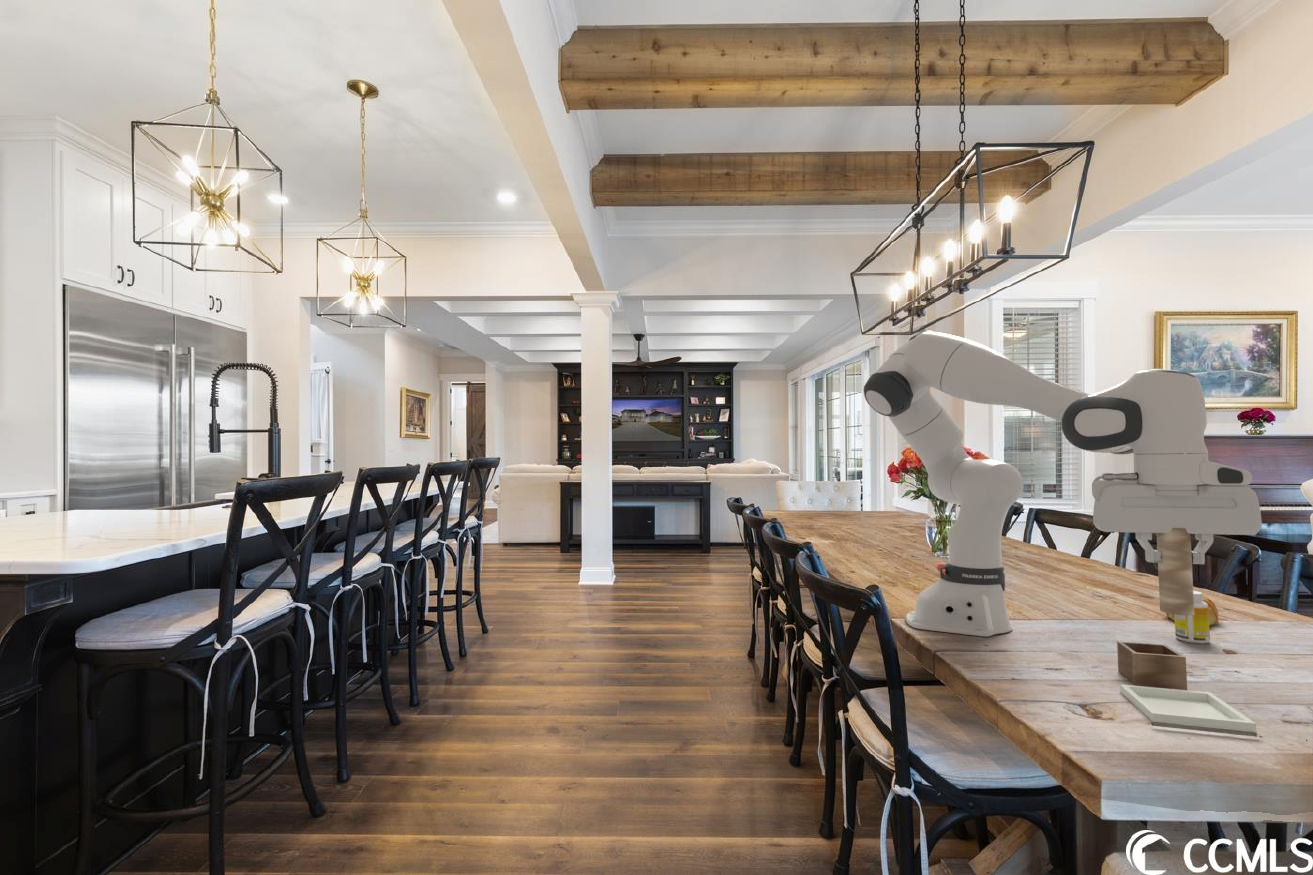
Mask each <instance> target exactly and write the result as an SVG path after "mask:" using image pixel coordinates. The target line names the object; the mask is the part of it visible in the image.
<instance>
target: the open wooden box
mask: <svg viewBox="0 0 1313 875" xmlns="http://www.w3.org/2000/svg"><path fill="white" fill-rule="evenodd" d="M1116 648H1117V649H1116V650H1117V651H1116V652H1117V669H1118V670H1117V671H1118V672H1117V673H1119V674H1120V675H1121V676H1123V677H1124V678H1125V679H1126V680H1128V681H1129V682H1130V683H1131V684H1132V685H1133V686H1144V687H1155V688H1167V689H1178V690H1188V680H1187V678H1188V677H1187V676H1188V674H1187V657H1186V656H1185V655H1183V654H1182V653H1180V652H1179V651H1177V650H1175V649H1173V648H1172V647H1170V646H1169V645H1167V644H1166V643H1165V644H1164V643H1148V642H1133V641H1132V642H1131V641H1120V640H1117V641H1116Z"/></svg>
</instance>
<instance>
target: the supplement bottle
mask: <svg viewBox="0 0 1313 875" xmlns="http://www.w3.org/2000/svg"><path fill="white" fill-rule="evenodd" d="M1193 596H1194V615H1175V614H1174V619H1175V621H1174V631H1175V632H1174V633H1175V637H1176V639H1177V640H1180V641H1182V642H1186V643H1191V644H1209V642H1210V640H1211V633H1210V632H1211V631H1210V626H1209V612H1208V604H1207V603H1205V602H1203V596H1204V594H1203V593H1202V592H1200V591H1197V590H1193Z"/></svg>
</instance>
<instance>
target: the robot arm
mask: <svg viewBox="0 0 1313 875" xmlns="http://www.w3.org/2000/svg"><path fill="white" fill-rule="evenodd" d="M931 388H934V389H936V390H938V391H940V392H943V393H945V394H946V395H949V396H951V397H955V398H957V399H961V400H964V401H967V402H971V403H976V404H981V405H995V406H1004V407H1005V406H1007V407H1015V408H1020V409H1025V410H1029V411H1032V412H1035V413H1037V414H1041V415H1043V416H1046V417H1048V418H1051V419H1054V420H1056V421H1058V422H1061V424H1060V425H1061V431H1062V433H1063V436H1064V438H1065V439H1066V440H1067V441H1068V442H1069V443H1070V444H1071V445H1073V446H1074V447H1076V448H1078V449H1080V450H1083V451H1087V452H1091V453H1103V454H1104V453H1107V454H1108V453H1109V454H1112V455H1130V454H1133V465H1134V466H1133V467H1134V471H1133V472H1123V473H1121V472H1120V473H1111V472H1105V473H1102V474H1101V475H1099V476H1097V477H1096V478H1095V479H1093V481H1092V483H1091V494H1092V497H1093V499H1094V503H1093V504H1094V505H1093V510H1092V511H1093V513H1092V521H1093V522H1092V523H1093V526H1095V528H1096V529H1097V530H1099V531H1102V532H1104V533H1133V534H1134V533H1135V540H1137V542H1138V543H1139V545H1140V546H1141V548H1143V550H1144V556H1145V558H1144V559H1145V561H1146V562H1147V563H1157V564H1158V563H1161V561H1162V559H1161V558H1160V557H1161V551H1158V550H1157V549H1154V548H1153V546H1152V545H1151V543H1150V542H1149V541H1152V540H1153V534H1157V533H1169V532H1170V531H1171V529H1172V528H1186V531H1187V533H1189V534H1192V535H1194V538H1195V540H1197V541H1198V542H1197V543H1196V545H1195V547H1194V548H1193V550H1191V553H1192V565H1205V563H1206V555H1205V554H1206V553H1207V551H1208V550H1209V549H1210V547H1211V546H1212V544H1213V543H1214V535H1234V536H1235V535H1236V536H1237V535H1238V536H1239V535H1240V536H1242V535H1243V536H1244V535H1245V536H1255V535H1257V534H1258V532H1260V530H1262V526H1263V524H1262V523H1263V522H1262V512H1261V507H1260V502H1259V498H1258V495H1257V493H1256V492H1255V491H1254V490H1253V488H1251V487H1249V486H1248V485H1251V484H1252V482H1253V475H1252V473H1251V472H1250V471H1248V470H1246V469H1242V468H1238V467H1233V466H1229V465H1225V464H1221V463H1216V462H1214V461H1210V460H1209V450H1208V447H1207V446H1206V443H1205V430H1206V427H1207V424H1208V422H1207V412H1206V411H1207V410H1206V408H1207V407H1206V401H1205V395H1204V390H1203V386H1202V384H1201V382H1200V380H1199V378H1197V377H1196V376H1195V375H1193V374H1191V373H1190V372H1186V371H1185V370H1184V371H1183V370H1176V369H1165V368H1163V369H1162V368H1151V369H1150V368H1149V369H1148V368H1145V369H1141V370H1138V371H1137V372H1135V373H1134V374H1133V375H1132V376H1130V377H1129V378H1127V379H1126V380H1124V381H1122V382H1120V383H1119V384H1116V385H1115V386H1111V387H1109V388H1108V389H1104V390H1101V391H1099V392H1096V393H1093V394H1089V393H1086V392H1084V391H1080V390H1077V389H1074V388H1072V387H1069V386H1066V385H1063V384H1060V383H1057V382H1056V381H1055V382H1054V381H1052V380H1049V379H1047V378H1044V377H1042V376H1040V375H1039V374H1036V373H1034V372H1033V371H1030V370H1029V369H1027V368H1025V366H1022V365H1020V364H1019V363H1016V362H1015V361H1013V360H1012V359H1010V358H1008V357H1007V356H1005V355H1003V354H1001V353H1000V352H998V351H996V350H994V349H993V348H990V347H988V346H986V345H984V344H981V343H978V342H976V341H973V340H970V339H967V338H963V337H961V336H957V335H952V334H949V333H945V332H944V333H943V332H938V331H935V330H931V329H927V330H926V329H925V330H922V331H920V332H918V333H916V334H915V335H913V336H911V337H910V338H909V340H908V341H907V342H906V343H904V344H902V345H901V346H900V347H899V348H897V349H896V350H894V352H893V353H891V354H890V355H889V357H888V359H886V360H885V361H884V363H883V364H882V365H881V366H879V368H878V369H877V370H876V372H875V373H873V374H871V375H870V377H868V379H867V381H866V382H865V384H864V386H863V395H864V399H865V401H866V403H867V404H868V406H869V407H870V408H871V409H873V410H874V411H875V412H876V413H878V414H880V415H882V416H885V417H888V418H889V419H890V421H891V423H892V424H893V426H894V427H895V429H896V430H897V432H898V433H899V434H900V435H901V436H902V438H903V439H904V440H905V441H906V443H907V444H908V445H909V447H911V448H912V450H913V451H914V452H915V453H916V455H917V456H918V458H919V459H920V461H921V463H922V464H923V466H924V468H925V470H926V473H927V475H928V476H927V484H928V489H929V491H930V492H931V494H932V495H933V496H935V497H936V498H938V499H940V500H941V501H943V502H946V503H949V504H952V505H959V511H958V515H957V519H956V520H955V523H954V524H953V525H951V527H950V528H949V530H948V534H947V537H948V540H947V541H948V563H946V564H944V563H943V562H938V563H937V564H936V566H935V567H936V570H937V571H938V572H939V577H940V579H939V580H937V581H936V582H934V583H932V584H931V585H930V586H928V587H927V588H925V589H923V590H922V591H920V593H919V595H918V596H917V599H916V602H915V607H914V608H915V609H914V610H912V611H909V612H907V614H905V615H906V616H905V621H906V623H907V624H908V625H909V626H910V627H912V628H915V629H919V630H923V631H924V630H925V631H933V632H934V631H935V632H944V633H949V634H950V633H952V634H959V635H960V634H961V635H970V636H975V637H976V636H977V637H992V636H994V635H1000V634H1004V633H1005V634H1006V633H1009V632H1011V631H1012V630H1013V626H1012V623H1011V620H1010V617H1009V613H1008V609H1007V603H1006V599H1005V598H1006V597H1005V591H1006V572H1005V567H1004V566H1003V565H1002V564H1003V563H1002V562H1003V561H1002V558H1003V557H1002V552H1003V551H1002V536H1003V535H1002V534H1003V529H1004V524H1005V521H1006V517H1007V514H1008V513H1009V510H1010V508H1011V507H1012V506H1013V504H1015V503H1016V502H1017V501H1018V500H1019V498H1020V497H1021V496H1022V493H1023V489H1024V481H1023V477H1022V474H1021V472H1019V470H1018V468H1016V467H1015V466H1013V464H1010V463H1006V462H1004V461H1000V460H995V459H982V458H981V459H978V458H977V459H974V458H972V457H971V456H970V455H969V454H967V452H966V451H965V448H964V445H963V442H962V441H963V438H964V433H963V430H962V428H961V427H960V426H959V425H958V423H957V422H956V421H955V420H954V419H953V417H952V416H951V415H950V414H949V412H948V411H947V410H946V409H945V407H944V406H943V405H942V404H941V403H940V402H939V401H938V399H937V398H936V397H935V396H934V395H933V394H932V392H931ZM1101 479H1102V480H1101Z"/></svg>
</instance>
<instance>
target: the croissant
mask: <svg viewBox="0 0 1313 875" xmlns="http://www.w3.org/2000/svg"><path fill="white" fill-rule="evenodd" d="M1203 602H1205V603H1207V604H1208V612H1209V625H1210V626H1213V625H1217V624H1218V623H1219V612H1218V608H1217V605H1216V604H1215V603H1214V602H1213V601H1212V599H1211V598H1209V597H1208V596H1206V595H1203ZM1165 615H1166V616H1167V617H1168V618H1169V619H1171V620H1172V621H1174V622H1175V619H1174V614H1169V613H1165Z"/></svg>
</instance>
